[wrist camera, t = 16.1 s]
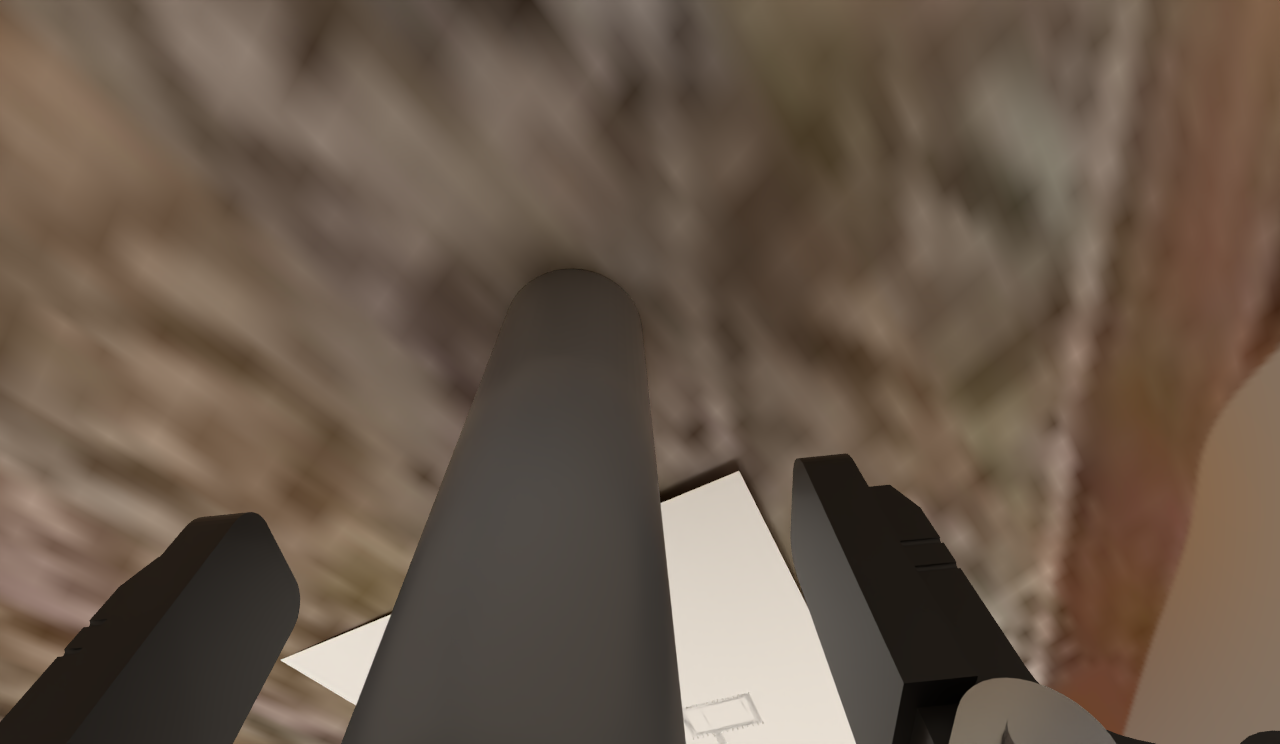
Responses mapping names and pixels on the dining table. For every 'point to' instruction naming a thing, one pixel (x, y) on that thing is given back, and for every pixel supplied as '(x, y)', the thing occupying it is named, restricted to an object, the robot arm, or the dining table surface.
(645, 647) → the marker
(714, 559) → the paper sheet
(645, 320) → the dining table surface
